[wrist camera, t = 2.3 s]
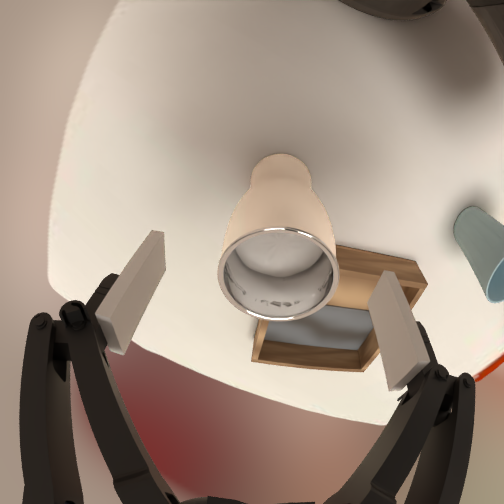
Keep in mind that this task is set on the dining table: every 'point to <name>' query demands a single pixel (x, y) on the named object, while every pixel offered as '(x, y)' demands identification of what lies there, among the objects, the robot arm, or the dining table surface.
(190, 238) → the dining table surface
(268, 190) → the shiny metal cylinder
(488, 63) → the dining table surface
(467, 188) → the dining table surface
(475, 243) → the cup
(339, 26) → the dining table surface
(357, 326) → the caddy
